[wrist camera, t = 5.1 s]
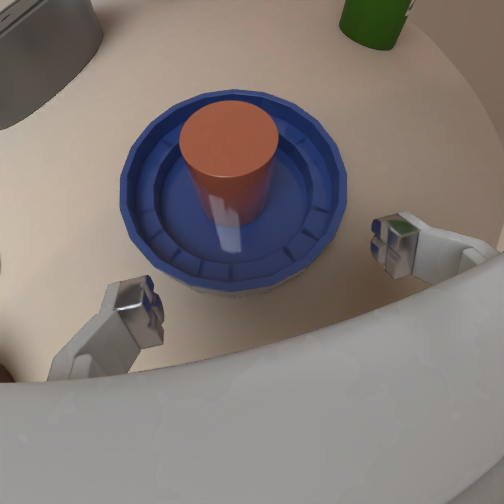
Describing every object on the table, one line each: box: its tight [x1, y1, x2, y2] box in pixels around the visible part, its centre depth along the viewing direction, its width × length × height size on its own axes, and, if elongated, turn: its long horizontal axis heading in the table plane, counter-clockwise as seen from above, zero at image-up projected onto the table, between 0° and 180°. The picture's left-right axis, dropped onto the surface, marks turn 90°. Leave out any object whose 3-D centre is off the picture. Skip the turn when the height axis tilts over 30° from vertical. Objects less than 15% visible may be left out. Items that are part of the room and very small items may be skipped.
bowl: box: [120, 89, 347, 298], centre depth 21 cm, size 16×16×4 cm
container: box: [0, 0, 103, 130], centre depth 23 cm, size 25×25×13 cm
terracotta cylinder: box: [179, 101, 278, 227], centre depth 19 cm, size 6×6×8 cm
